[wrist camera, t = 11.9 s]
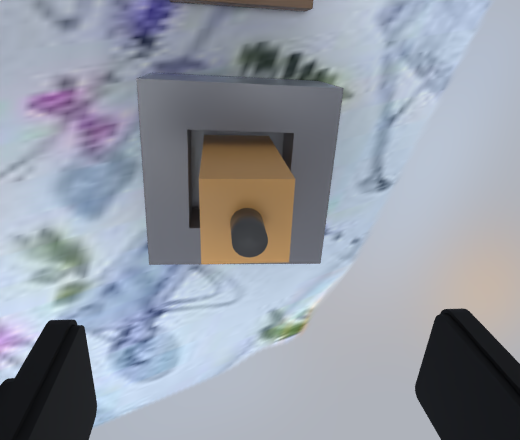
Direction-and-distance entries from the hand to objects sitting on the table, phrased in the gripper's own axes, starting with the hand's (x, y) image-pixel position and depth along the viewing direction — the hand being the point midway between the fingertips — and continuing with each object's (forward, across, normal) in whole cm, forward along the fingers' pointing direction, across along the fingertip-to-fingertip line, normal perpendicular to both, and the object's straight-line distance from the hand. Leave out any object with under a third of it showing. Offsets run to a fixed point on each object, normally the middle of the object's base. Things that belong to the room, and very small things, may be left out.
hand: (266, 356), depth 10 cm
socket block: (+22, 0, +1) cm, 22 cm away
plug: (+19, 0, 0) cm, 19 cm away
